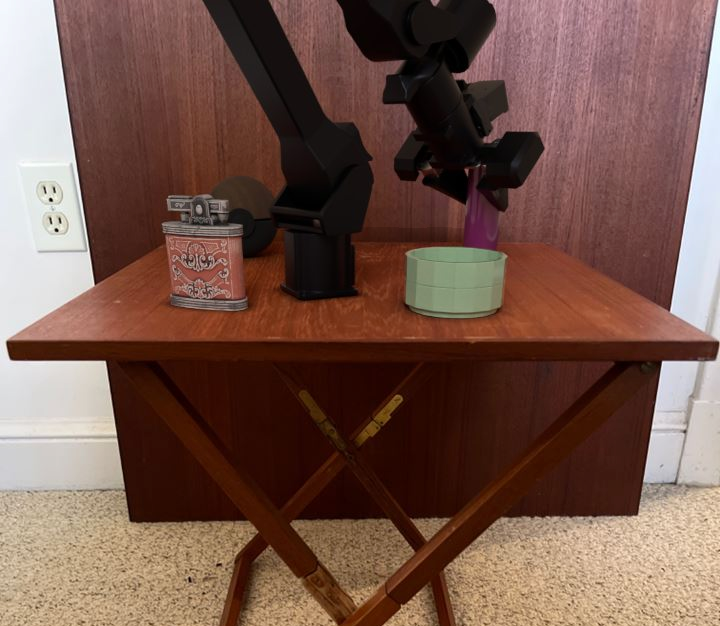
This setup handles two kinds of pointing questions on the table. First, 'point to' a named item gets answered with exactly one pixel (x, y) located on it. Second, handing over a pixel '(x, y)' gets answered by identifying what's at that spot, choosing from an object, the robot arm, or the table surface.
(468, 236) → the purple cylinder rod
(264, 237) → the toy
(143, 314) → the table surface
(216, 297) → the lighter
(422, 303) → the bowl
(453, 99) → the robot arm
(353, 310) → the table surface
